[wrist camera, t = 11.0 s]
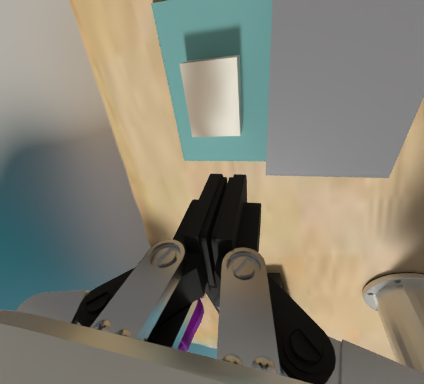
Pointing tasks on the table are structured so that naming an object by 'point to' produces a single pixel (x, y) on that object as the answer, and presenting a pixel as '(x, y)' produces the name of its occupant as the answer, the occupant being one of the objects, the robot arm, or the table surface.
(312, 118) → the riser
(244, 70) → the mat
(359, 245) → the table surface
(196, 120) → the tile
